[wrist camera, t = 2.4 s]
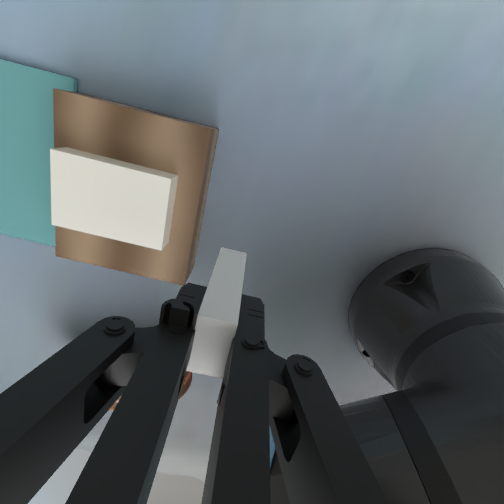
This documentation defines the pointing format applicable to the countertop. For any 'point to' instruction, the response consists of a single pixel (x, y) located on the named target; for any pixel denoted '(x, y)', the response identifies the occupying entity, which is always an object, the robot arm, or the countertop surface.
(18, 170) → the mat
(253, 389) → the robot arm
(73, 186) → the white rectangular block
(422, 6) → the countertop surface
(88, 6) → the countertop surface
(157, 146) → the brown wooden block
